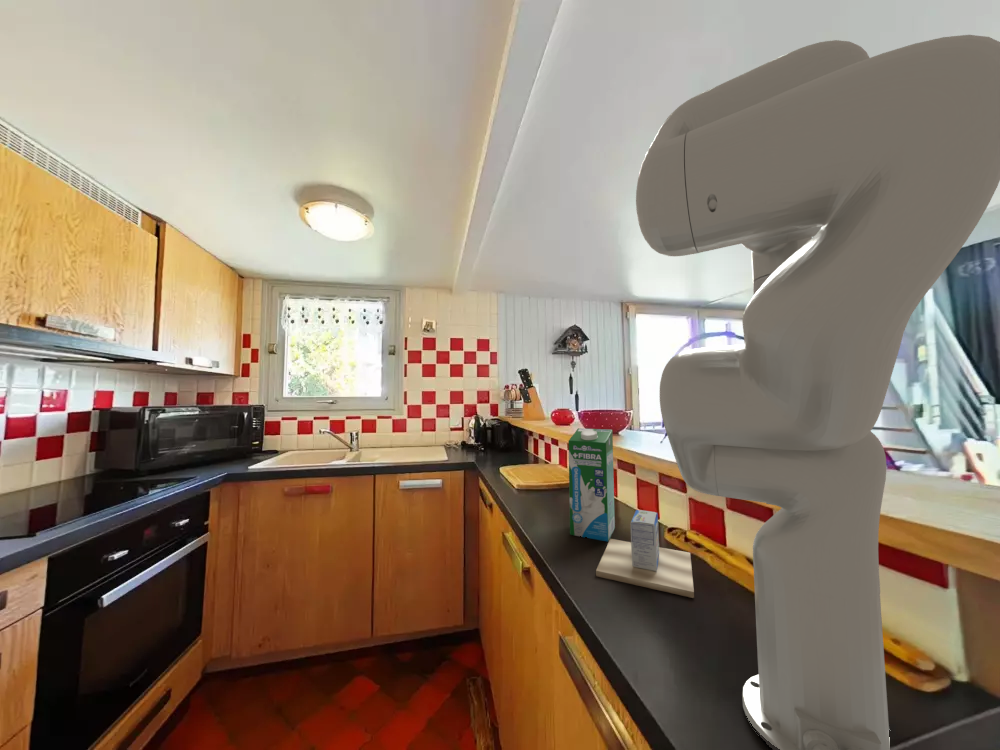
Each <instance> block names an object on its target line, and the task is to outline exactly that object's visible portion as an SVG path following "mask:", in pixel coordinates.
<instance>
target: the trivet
mask: <svg viewBox="0 0 1000 750" xmlns="http://www.w3.org/2000/svg"><path fill="white" fill-rule="evenodd" d="M691 557H692V556H691V552H687V551H682V550H677V549H676V550H675V549H671V548H666V547H660V546H659V560H658V567H657V571H656V572H655V571H651V570H646V569H641V568H636V567H633V566H632V550H631V541H625V540H619V539H615V538H610V539H609V541H608V543H607V546H606V548H605V550H604V552H603V554H602V556H601V558H600V561H599V563H598V565H597V568H596V569H595V575H596V577H599V578H603V579H607V580H613V581H617V582H621V583H625V584H630V585H633V586H639V587H643V588H648V589H652V590H657V591H661V592H665V593H669V594H675V595H679V596H683V597H688V598H692V599H695V589H694V578H693V570H692V569H693V568H692V559H691Z"/></svg>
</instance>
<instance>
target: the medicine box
mask: <svg viewBox="0 0 1000 750" xmlns="http://www.w3.org/2000/svg"><path fill="white" fill-rule="evenodd" d="M659 533H660V532H659V514H658V512H655V511H650V510H642V509H640V510H639V509H637V510H636V509H635V512H634V514H633V517H632V519H631V521H630V542H631V550H632V566H633V567H636V568H641V569H646V570H651V571H655V572H656V571H657V567H658V560H659V547H660V541H659V539H660V537H659Z"/></svg>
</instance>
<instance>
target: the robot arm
mask: <svg viewBox="0 0 1000 750" xmlns="http://www.w3.org/2000/svg"><path fill="white" fill-rule="evenodd" d="M999 183H1000V41H999V40H997V39H995V38H992V37H990V36H985V35H974V34H962V35H954V36H953V35H952V36H951V35H950V36H943V37H938V38H934V39H929V40H926V41H925V40H924V41H921V42H916V43H912V44H910V45H907V46H906V45H905V46H902V47H899V48H896V49H892V50H889V51H886V52H883V53H880V54H876V55H875V56H871V57H870V56H869V54H868V52H867V51H866V50H865V49H864V48H863V47H862V46H861V45H858V44H857V43H854V42H852V41H847V40H839V39H838V40H837V39H836V40H835V39H833V40H825V41H819V42H816V43H813V44H809V45H806V46H803V47H800V48H797V49H795V50H792V51H789V52H788V53H786V54H784V55H781V56H779V57H777V58H775V59H772V60H770V61H768V62H766V63H763V64H761V65H759V66H757V67H755V68H753V69H751V70H749V71H746V72H744V73H742V74H740V75H738V76H736V77H734V78H731V79H729V80H728V81H725V82H723V83H720V84H719V85H716V86H714V87H712V88H710V89H707V90H705V91H703V92H701V93H699V94H696V95H695V96H693V97H691V98H689V99H688V100H686V101H685V102H683V103H682V104H680V105H679V106H678V107H676V108H675V110H673V112H671V113H670V115H669V116H667V118H666V119H665V121H664V122H663V123H662V125H661V126H660V128H659V129H658V131H657V134H656V135H655V137H654V139H653V141H652V142H651V144H650V146H649V148H648V149H647V151H646V153H645V155H644V158H643V161H642V163H641V166H640V169H639V174H638V177H637V184H636V190H635V191H636V192H635V206H636V207H635V209H636V210H635V211H636V215H637V221H638V222H637V223H638V225H639V228H640V232H641V234H642V236H643V238H644V240H645V241H646V243H647V245H648V246H649V247H650V248H651V249H652V250H653V251H655V252H656V253H658V254H660V255H663V256H667V257H684V256H689V255H695V254H696V255H697V254H701V253H704V252H709V251H714V250H718V249H723V248H728V247H733V246H736V245H740V244H741V245H742V246H743V247H744V248H746V249H748V250H749V251H751V272H752V273H751V274H752V287H753V290H752V291H753V295H752V298H751V299H750V300H749V302H748V303H747V305H746V306H745V309H744V310H743V311H744V312H743V314H742V318H741V319H742V321H741V322H742V330H743V342H744V344H734V345H733V344H732V345H731V344H730V345H721V346H707V347H699V348H697V347H696V348H691V349H688V350H684V351H681V352H679V353H677V354H675V355H674V356H672V358H670V360H668V361H667V363H666V364H665V366H664V368H663V370H662V372H661V377H660V382H659V406H660V407H659V408H660V413H661V418H662V422H663V425H664V430H665V433H666V435H667V438H668V443H669V444H670V447H671V450H672V453H673V456H674V458H675V462H676V464H677V468H678V471H679V473H680V476H681V477H682V479H683V481H684V482H685V484H686V485H687V486H689V487H690V488H691V489H692V490H694V491H696V492H698V493H702V494H705V495H710V496H716V497H723V498H730V499H737V500H744V501H751V502H757V503H763V504H764V503H765V504H767V505H771V506H775V507H780V509H779V510H778V511H777V512H776V513H775V514H774V515H772V516H771V517H770V518H769V519H767V520H766V521H765V522H764V524H762V525H761V527H760V528H759V529H758V531H757V532H756V534H755V536H754V539H753V544H752V561H753V582H754V602H755V603H754V604H755V605H754V606H755V627H756V647H757V648H756V649H757V669H758V670H757V671H758V674H756V675H753V676H751V677H750V678H748V679H747V680H746V681H745V682H744V685H743V686H742V692H741V693H742V694H741V696H742V709H743V711H744V715H745V716H747V717H746V719H747V718H748V719H747V721H748V722H749V721H750V722H749V724H750V723H751V724H752V726H753V727H754V728H755V729H756V730H757V731H758V732H759V733H760V735H762V736H763V737H764V738H765V739H766V740H767V741H769V742H770V743H771V744H772V745H774V746H775V747H777V748H778V749H780V750H890V737H889V730H890V726H889V725H890V724H889V711H888V710H889V709H888V697H887V696H888V693H887V679H886V665H885V650H884V649H885V648H884V637H883V620H882V619H883V618H882V617H883V616H882V605H881V604H882V603H881V602H882V601H881V583H880V565H879V564H880V563H879V529H880V527H879V526H880V517H881V512H882V511H881V509H882V503H883V497H884V491H885V486H886V479H887V465H888V464H887V457H886V453H885V449H884V447H883V445H882V442H881V441H880V438H878V437H877V435H875V433H873V432H872V430H873V429H874V427H875V425H876V423H877V421H878V419H879V417H880V415H881V412H882V408H883V406H884V402H885V399H886V395H887V391H888V388H889V385H890V382H891V377H892V375H893V372H894V368H895V366H896V365H895V364H896V361H897V358H898V355H899V352H900V348H901V343H902V341H903V337H904V334H905V333H904V332H905V330H906V328H907V325H908V323H909V321H910V318H911V316H912V314H913V313H914V312H915V310H916V309H917V308H918V306H919V304H920V302H921V301H922V299H923V298H924V297H925V296H926V294H927V293H928V292H929V291H930V289H931V288H932V287H933V286H934V284H935V283H936V282H937V280H939V278H940V276H941V275H942V274H943V273H944V271H945V270H946V269H947V268H948V267H949V265H950V264H951V263H952V262H953V260H954V258H956V256H957V254H958V253H959V252H960V250H961V249H962V248H963V246H964V245H965V243H966V242H967V240H968V239H969V237H970V236H971V234H972V232H973V231H974V230H975V228H976V227H977V225H978V224H979V222H980V220H981V218H982V217H983V215H984V213H985V211H986V210H987V208H988V206H989V204H990V203H991V200H992V198H993V196H994V194H995V192H996V191H997V188H998V186H999ZM751 724H750V725H751ZM752 726H751V727H752Z"/></svg>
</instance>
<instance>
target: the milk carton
mask: <svg viewBox="0 0 1000 750" xmlns="http://www.w3.org/2000/svg"><path fill="white" fill-rule="evenodd" d="M613 432H614V431H613V429H606V428H605V429H602V428H577V429H576V430H575V432H574V433H572V435H571V437H570V438H569V440H568V486H569V487H568V489H569V491H568V492H569V493H568V494H569V497H568V499H569V536H570V535H571V536H575V537H580V536H581V538H585V537H587V538H586V539H590V540H591V539H592V540H596V541H603V542H608V543H609V541H610V539H611V537H612V534H613V533H614V531H615V529H616V526H615V525H616V524H615V523H616V520H615V483H614V476H615V475H614V444H613V443H614V442H613V440H614V439H613V437H614V436H613Z"/></svg>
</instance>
